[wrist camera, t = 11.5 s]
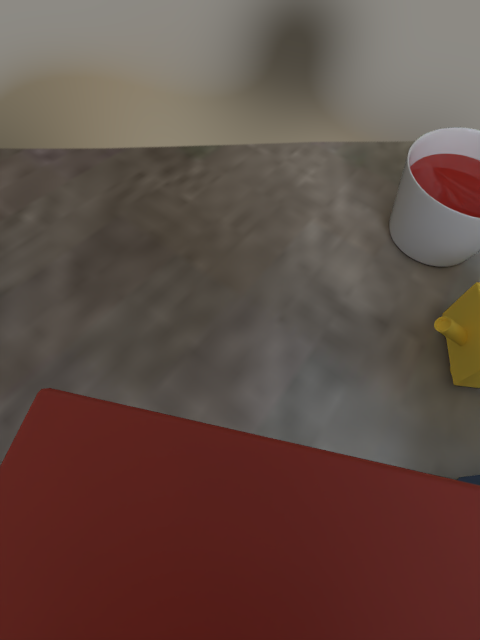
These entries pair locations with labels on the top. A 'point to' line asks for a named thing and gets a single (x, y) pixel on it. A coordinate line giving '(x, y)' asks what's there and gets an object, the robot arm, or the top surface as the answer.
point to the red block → (223, 535)
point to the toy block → (463, 337)
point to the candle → (439, 198)
